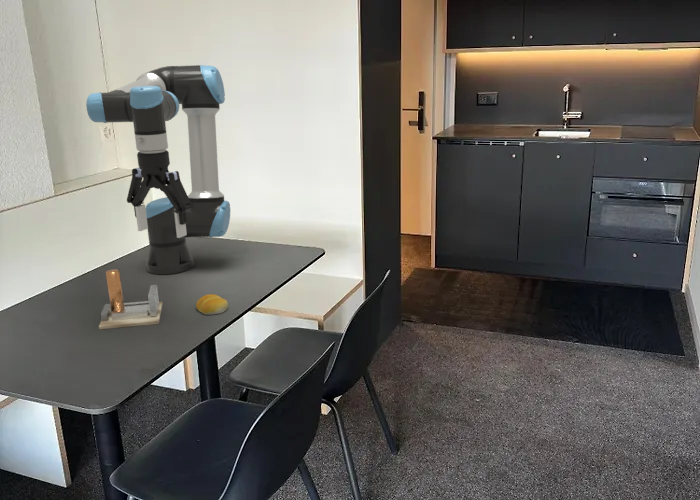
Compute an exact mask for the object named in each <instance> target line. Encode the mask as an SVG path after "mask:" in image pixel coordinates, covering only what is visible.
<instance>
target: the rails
mask: <svg viewBox="0 0 700 500" xmlns="http://www.w3.org/2000/svg"><path fill="white" fill-rule="evenodd" d="M146 304H149V300H145V301H135V302H124V306H134V305H146ZM111 312H112V311H111V305H110V303H105V304H104V305H103V308H102V309H101V313H100V319H101V320H102V321H108V320H109V317H110V315H111ZM145 317H148V310H147V309H146V310H135V311H124V312H113V313H112V319H113V320H124V319H134V318H145ZM101 320H100V321H101Z"/></svg>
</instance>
